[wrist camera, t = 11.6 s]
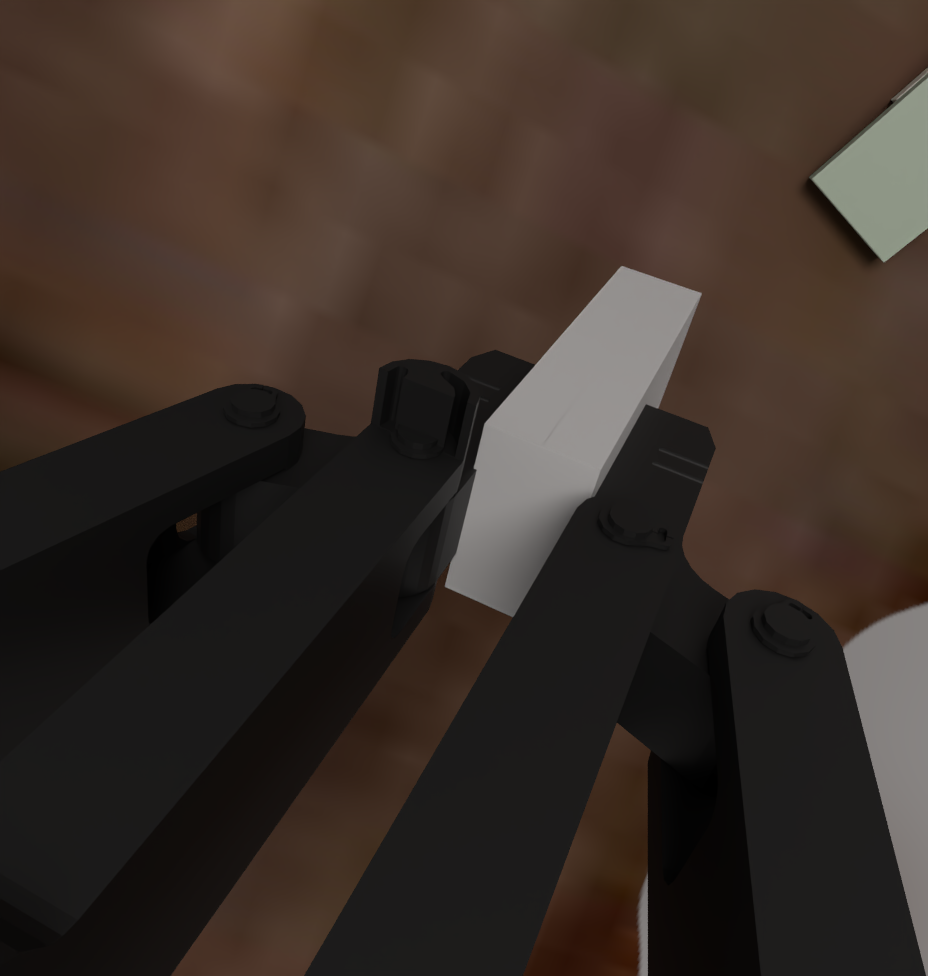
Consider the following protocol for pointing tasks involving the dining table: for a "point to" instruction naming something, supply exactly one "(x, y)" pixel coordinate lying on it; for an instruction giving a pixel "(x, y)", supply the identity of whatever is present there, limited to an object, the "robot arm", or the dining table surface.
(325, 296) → the dining table surface
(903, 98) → the domino
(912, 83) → the domino
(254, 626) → the robot arm
